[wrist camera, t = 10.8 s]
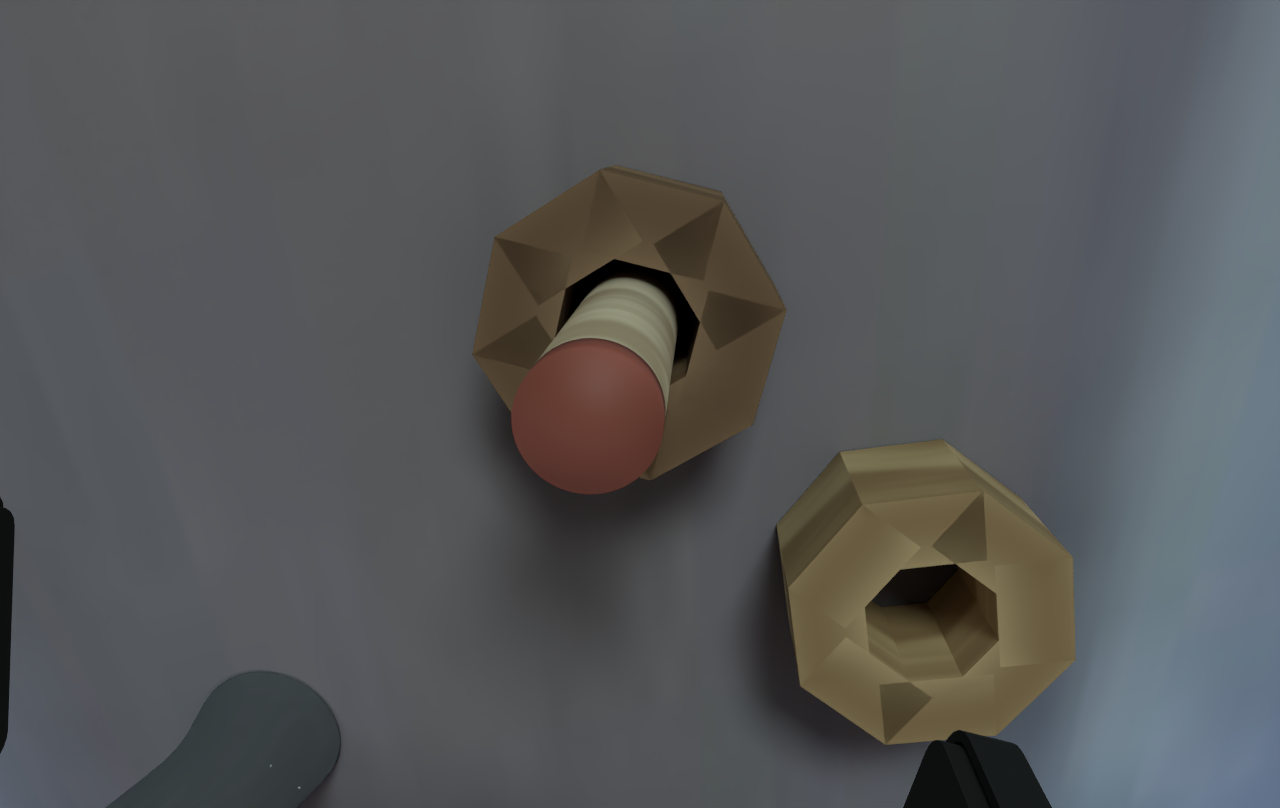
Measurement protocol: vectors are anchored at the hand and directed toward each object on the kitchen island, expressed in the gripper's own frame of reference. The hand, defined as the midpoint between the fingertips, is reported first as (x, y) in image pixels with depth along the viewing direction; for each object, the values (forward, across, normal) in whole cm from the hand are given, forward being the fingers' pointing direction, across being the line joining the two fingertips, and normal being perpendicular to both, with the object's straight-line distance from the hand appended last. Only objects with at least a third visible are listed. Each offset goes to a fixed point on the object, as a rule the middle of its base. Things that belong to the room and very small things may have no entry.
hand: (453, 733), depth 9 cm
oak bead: (+24, -12, +7) cm, 28 cm away
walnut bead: (+24, 0, 0) cm, 24 cm away
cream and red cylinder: (+24, 0, 0) cm, 24 cm away
